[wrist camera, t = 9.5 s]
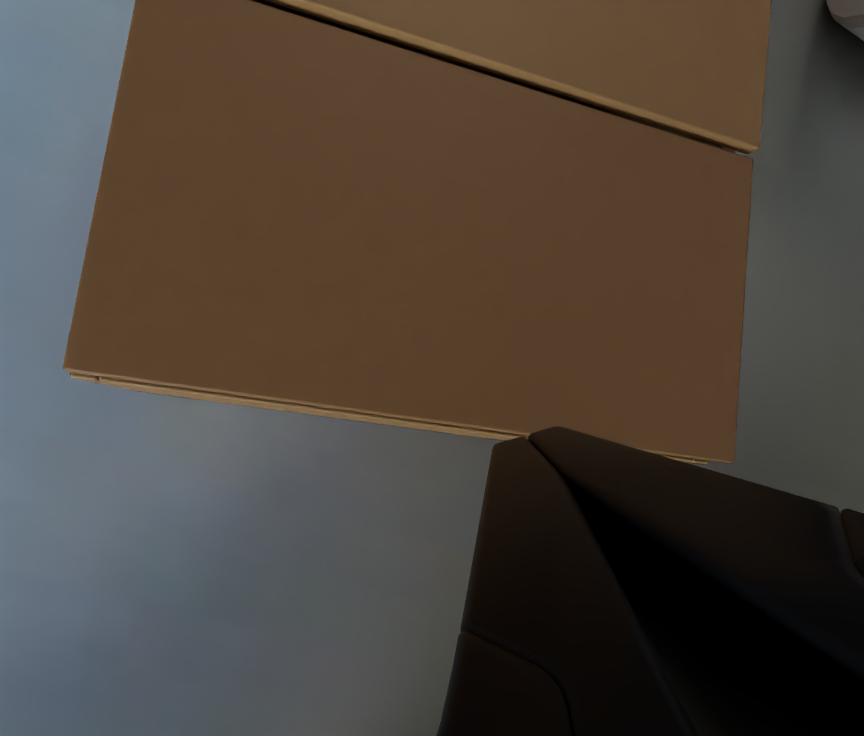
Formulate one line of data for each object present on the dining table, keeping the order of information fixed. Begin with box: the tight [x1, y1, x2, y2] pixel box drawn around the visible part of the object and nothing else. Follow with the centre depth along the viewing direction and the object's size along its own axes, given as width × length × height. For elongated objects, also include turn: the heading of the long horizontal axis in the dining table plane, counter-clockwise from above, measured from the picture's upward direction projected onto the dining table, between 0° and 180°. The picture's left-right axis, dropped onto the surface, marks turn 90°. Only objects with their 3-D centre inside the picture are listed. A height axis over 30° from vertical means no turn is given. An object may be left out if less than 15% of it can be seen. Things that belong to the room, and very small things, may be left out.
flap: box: [63, 0, 753, 463], centre depth 11 cm, size 6×12×1 cm, turn 82°
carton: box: [70, 0, 772, 464], centre depth 16 cm, size 13×12×9 cm
